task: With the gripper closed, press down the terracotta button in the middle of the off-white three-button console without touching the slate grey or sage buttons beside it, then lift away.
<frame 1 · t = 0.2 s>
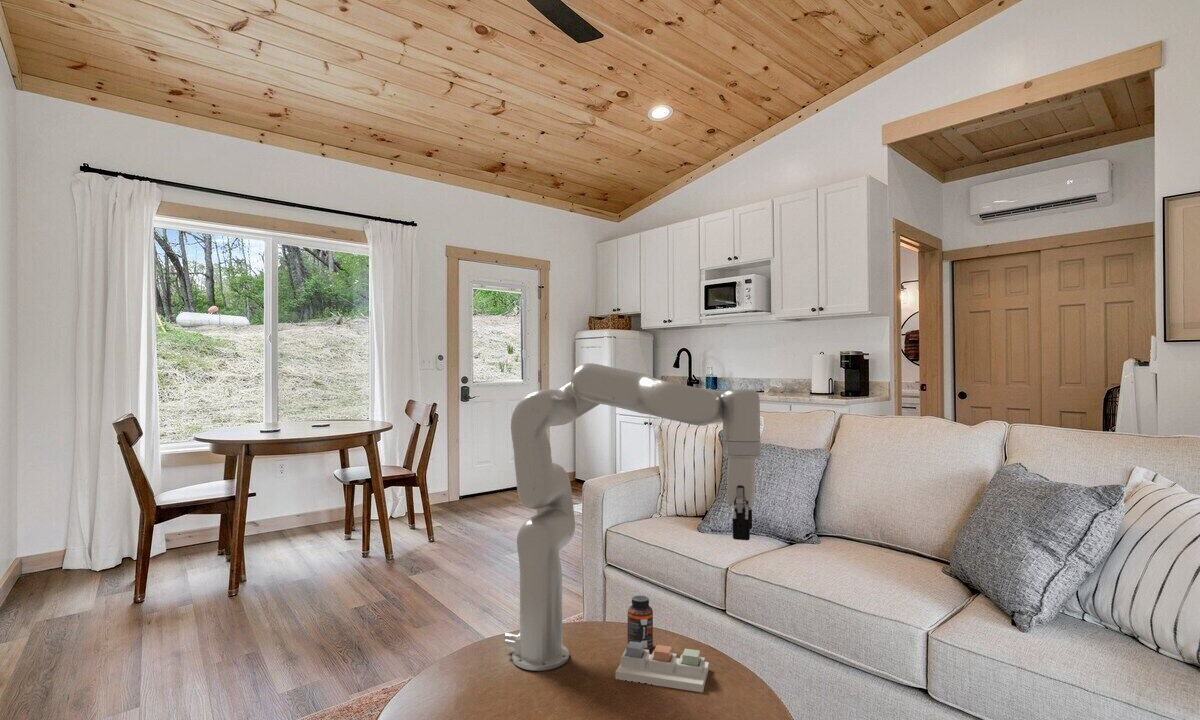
hand: (742, 533, 118), 31 cm above the table, tool pointing down, fingers open, 9 cm apart
button console: (662, 674, 121), on the table
slate button: (635, 650, 123), point 4 cm above the table, slide at 0.0 cm
terracotta button: (662, 654, 122), point 4 cm above the table, slide at 0.0 cm
sage button: (691, 658, 120), point 4 cm above the table, slide at 0.0 cm
supplement bottle: (640, 648, 134), on the table
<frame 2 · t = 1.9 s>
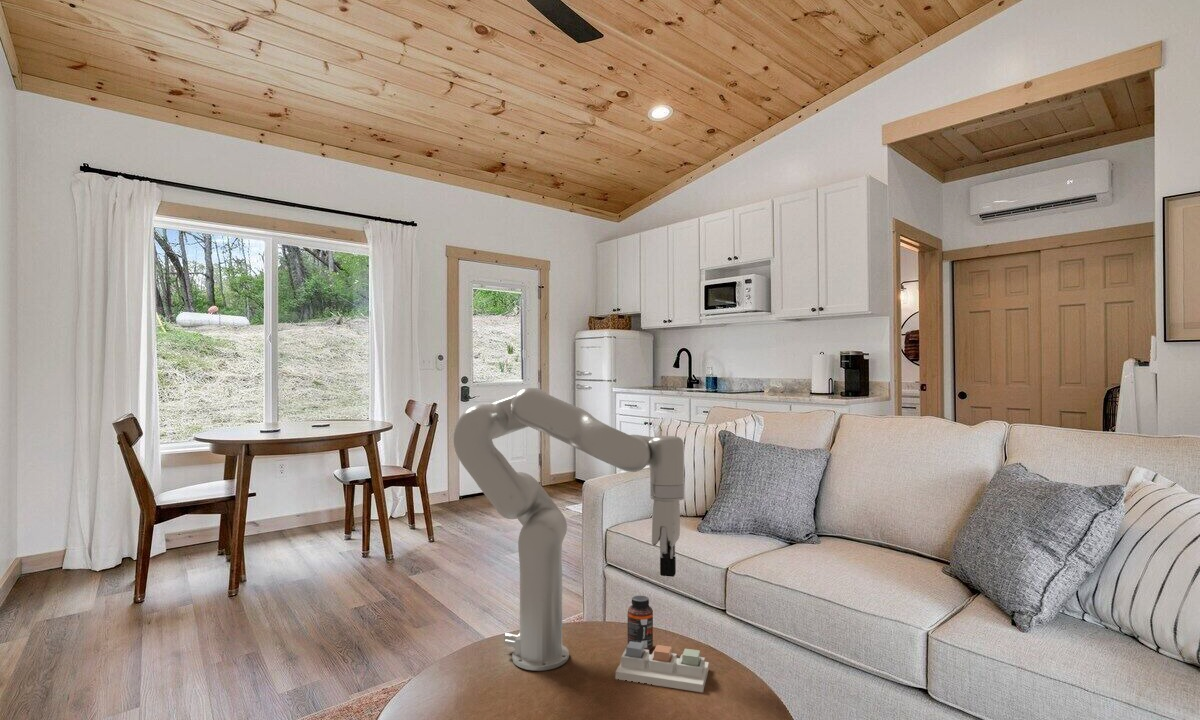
hand: (667, 574, 128), 19 cm above the table, tool pointing down, fingers closed
nothing on the table moved.
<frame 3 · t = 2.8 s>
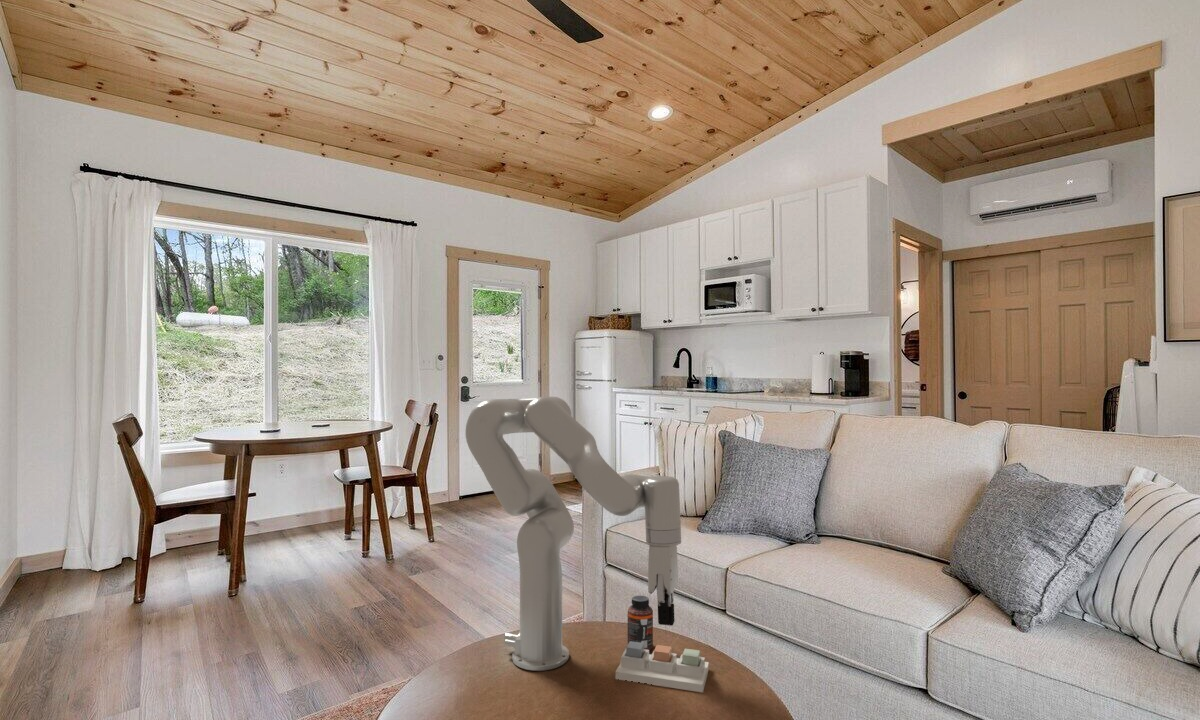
hand: (666, 623, 122), 11 cm above the table, tool pointing down, fingers closed
nothing on the table moved.
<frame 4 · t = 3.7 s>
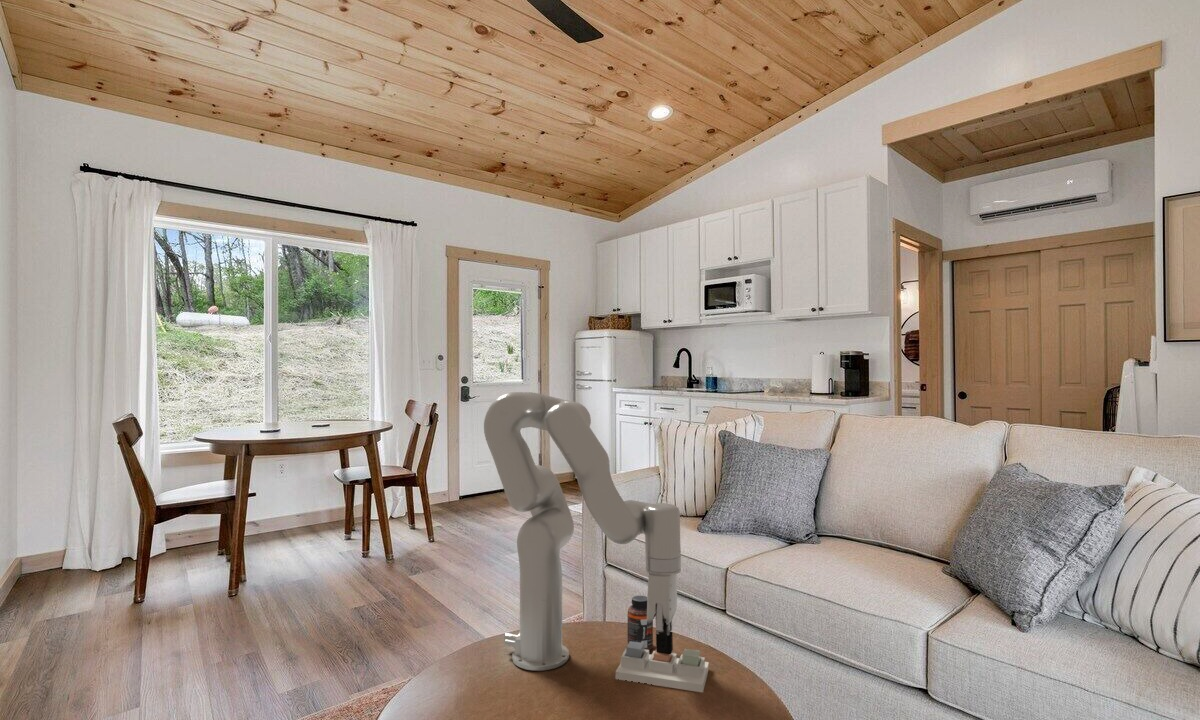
hand: (664, 651, 122), 5 cm above the table, tool pointing down, fingers closed
terracotta button: (662, 657, 122), point 3 cm above the table, slide at 0.6 cm, touching gripper
everything else where it was.
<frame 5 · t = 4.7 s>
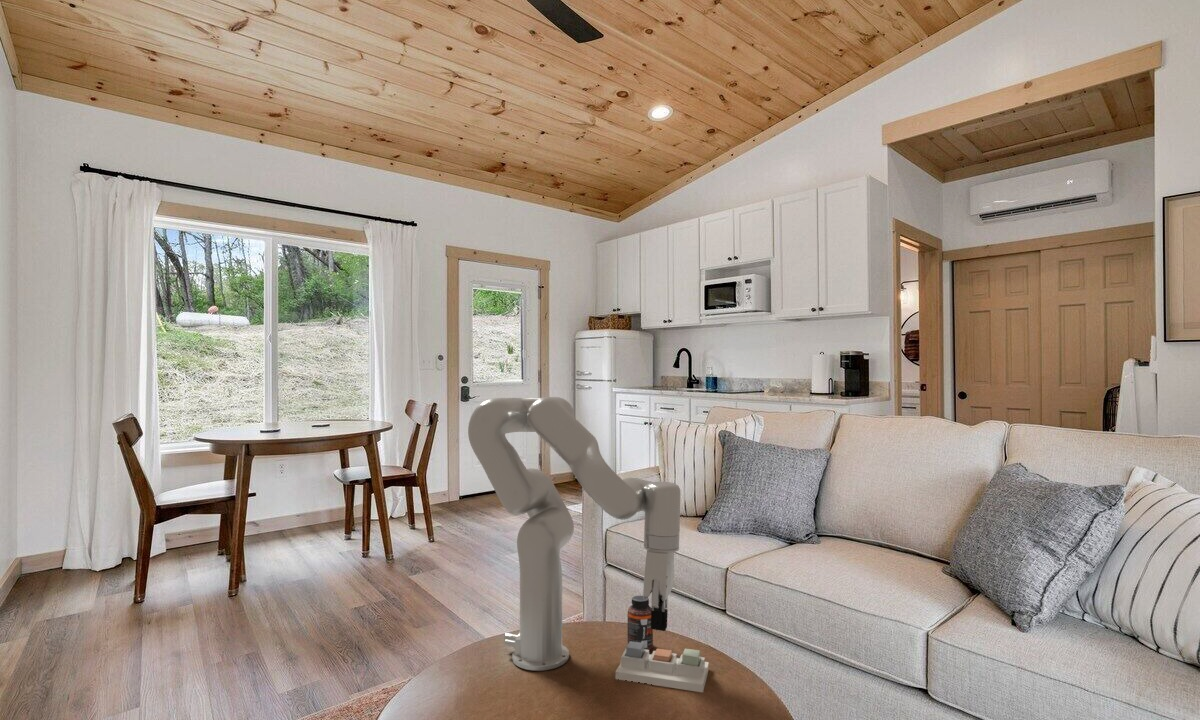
hand: (658, 628, 122), 9 cm above the table, tool pointing down, fingers closed
terracotta button: (662, 658, 122), point 3 cm above the table, slide at 0.8 cm
everything else where it was.
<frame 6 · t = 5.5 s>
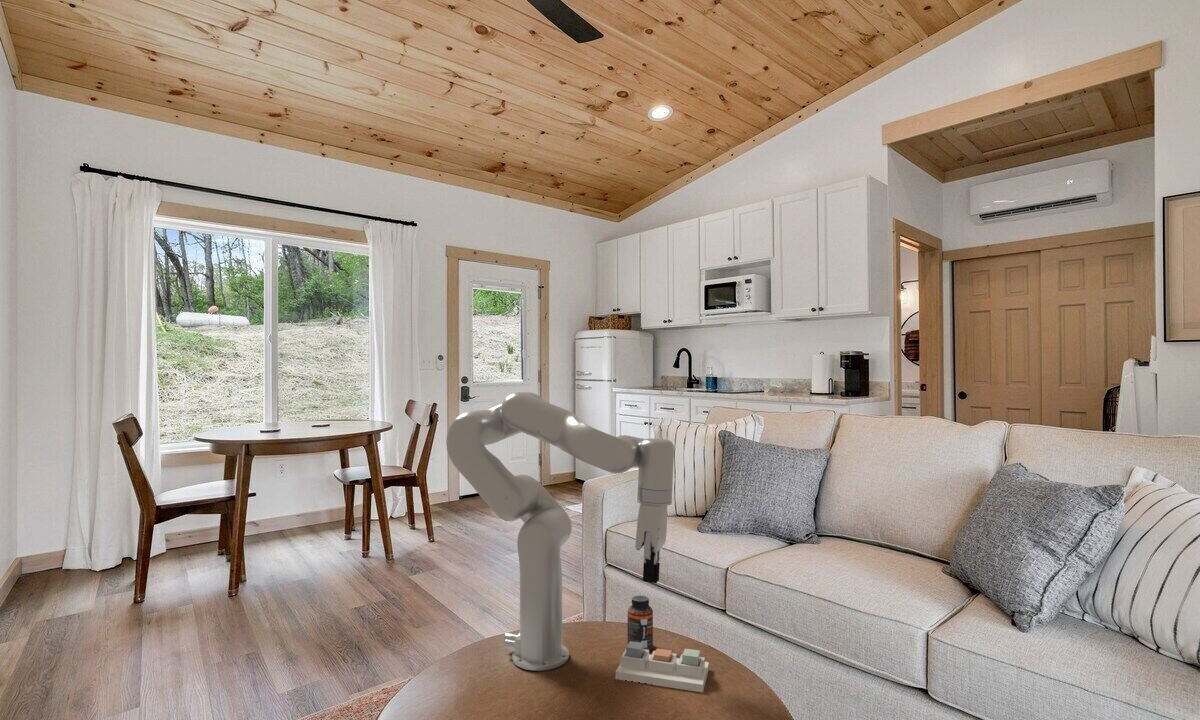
hand: (650, 581, 125), 19 cm above the table, tool pointing down, fingers closed
nothing on the table moved.
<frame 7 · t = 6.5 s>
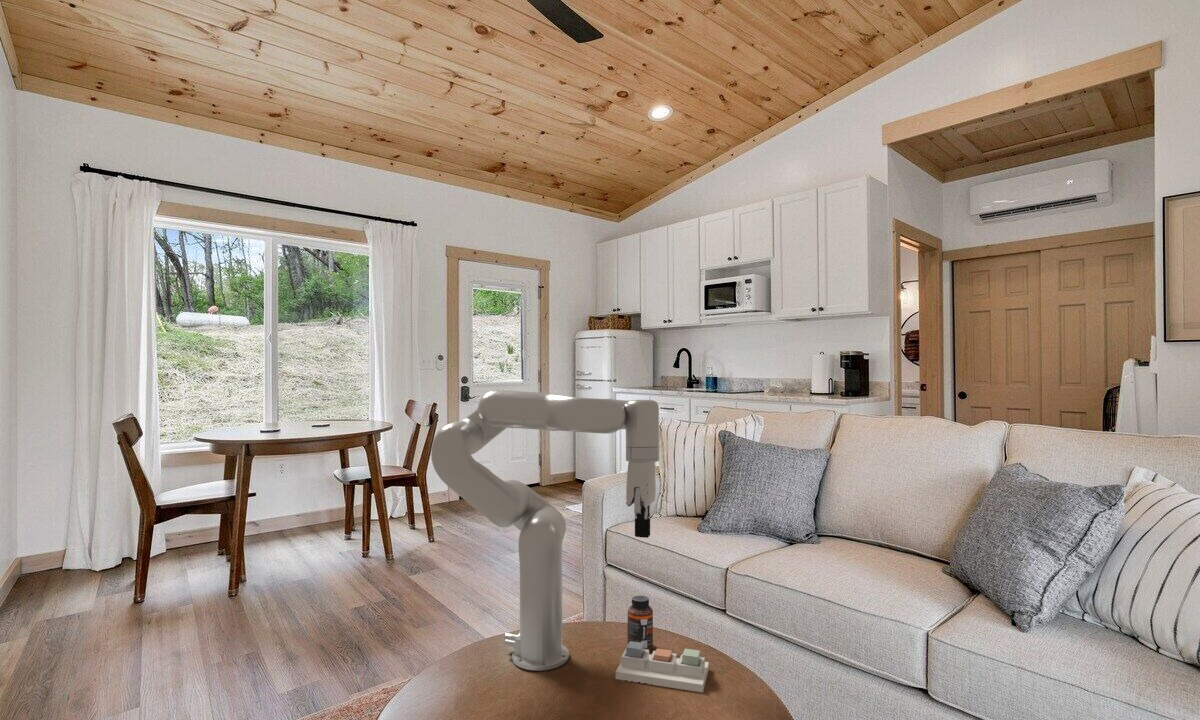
hand: (642, 536, 129), 27 cm above the table, tool pointing down, fingers closed
nothing on the table moved.
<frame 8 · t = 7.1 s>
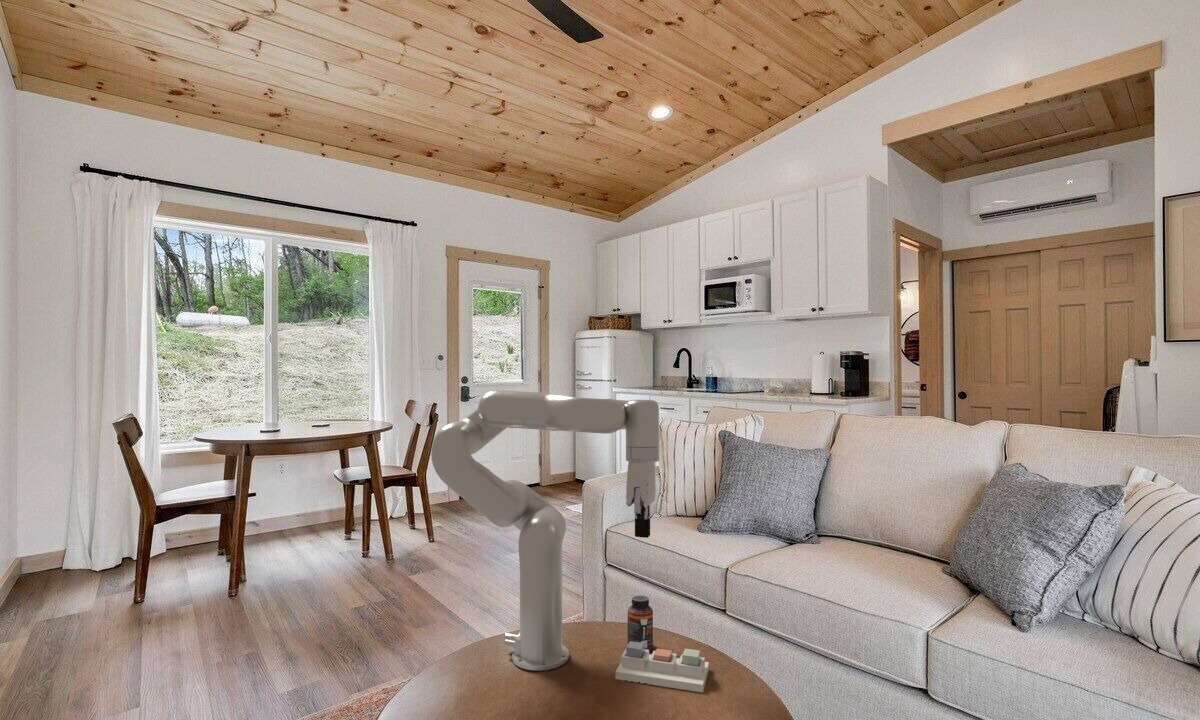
hand: (642, 536, 129), 27 cm above the table, tool pointing down, fingers closed
nothing on the table moved.
at the end: terracotta button slide at 0.8 cm; slate button slide at 0.0 cm; sage button slide at 0.0 cm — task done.
